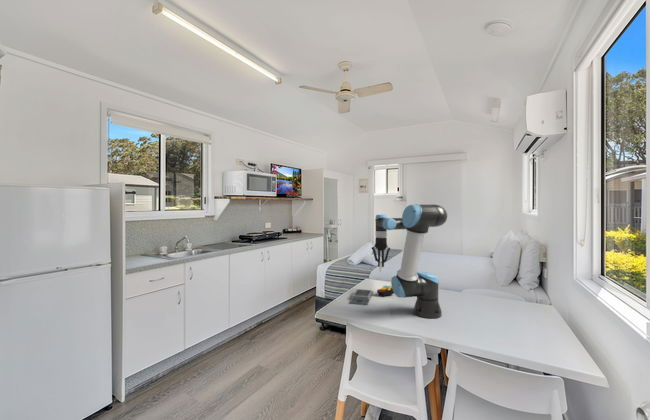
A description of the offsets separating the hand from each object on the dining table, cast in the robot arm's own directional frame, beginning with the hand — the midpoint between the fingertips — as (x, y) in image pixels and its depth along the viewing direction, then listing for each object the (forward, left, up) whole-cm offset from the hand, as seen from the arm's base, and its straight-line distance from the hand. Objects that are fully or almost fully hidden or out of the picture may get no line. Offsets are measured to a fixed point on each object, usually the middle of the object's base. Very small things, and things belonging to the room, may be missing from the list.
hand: (381, 271), depth 194 cm
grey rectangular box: (-6, +12, -17) cm, 21 cm away
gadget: (+1, -1, -18) cm, 18 cm away
